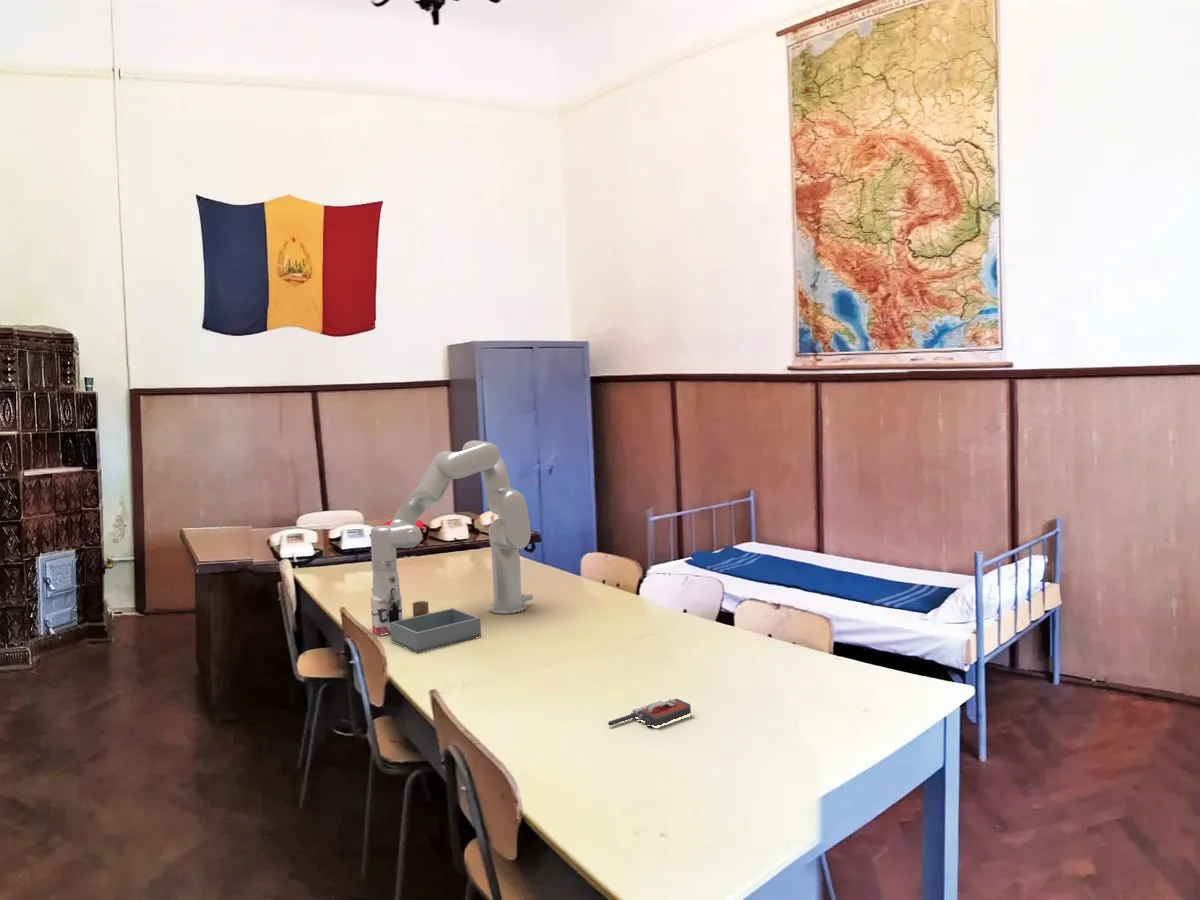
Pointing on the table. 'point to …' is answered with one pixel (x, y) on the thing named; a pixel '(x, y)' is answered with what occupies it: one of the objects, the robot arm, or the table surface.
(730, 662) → the table surface
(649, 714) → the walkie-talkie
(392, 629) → the tote
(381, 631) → the ink box
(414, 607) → the walnut cylinder
